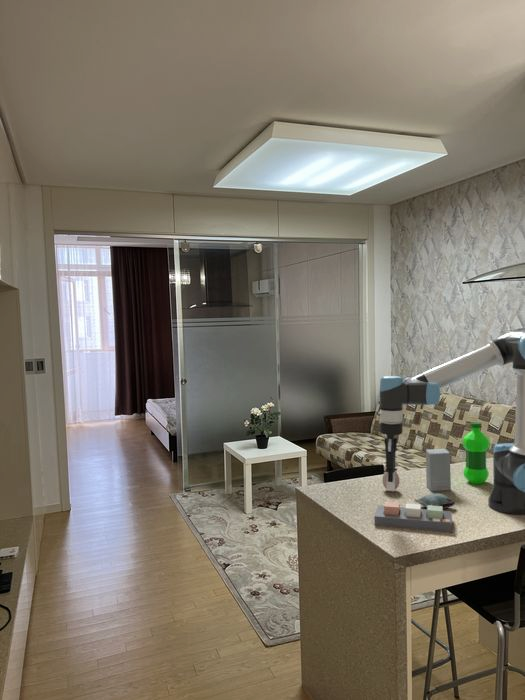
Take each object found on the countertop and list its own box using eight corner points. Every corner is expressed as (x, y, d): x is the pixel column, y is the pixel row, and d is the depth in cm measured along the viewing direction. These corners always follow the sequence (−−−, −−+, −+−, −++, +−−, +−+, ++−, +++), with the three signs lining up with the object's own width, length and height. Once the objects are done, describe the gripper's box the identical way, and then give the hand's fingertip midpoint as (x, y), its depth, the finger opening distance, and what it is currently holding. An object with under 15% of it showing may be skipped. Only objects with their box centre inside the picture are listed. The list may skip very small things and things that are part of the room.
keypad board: (451, 520, 180) (451, 510, 180) (452, 532, 170) (452, 522, 170) (378, 513, 188) (377, 504, 188) (374, 524, 178) (374, 515, 178)
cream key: (420, 516, 181) (420, 504, 180) (420, 521, 176) (420, 509, 176) (406, 514, 182) (406, 503, 182) (405, 519, 178) (405, 508, 177)
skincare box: (445, 486, 217) (445, 447, 216) (451, 491, 210) (451, 452, 209) (425, 486, 217) (424, 448, 216) (430, 492, 210) (429, 452, 209)
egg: (398, 488, 216) (397, 466, 215) (400, 493, 209) (400, 470, 208) (381, 488, 216) (381, 466, 216) (383, 493, 210) (383, 470, 209)
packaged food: (414, 506, 195) (414, 493, 194) (439, 501, 199) (440, 488, 199) (430, 514, 187) (430, 500, 186) (456, 509, 191) (456, 496, 191)
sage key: (442, 517, 178) (442, 506, 178) (442, 523, 174) (442, 511, 174) (427, 516, 180) (427, 505, 180) (427, 521, 175) (427, 509, 175)
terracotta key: (399, 514, 183) (399, 502, 183) (398, 519, 178) (398, 507, 178) (385, 512, 184) (385, 501, 184) (384, 517, 180) (384, 506, 180)
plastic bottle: (490, 480, 223) (490, 421, 222) (487, 487, 214) (487, 426, 213) (465, 477, 228) (465, 419, 227) (461, 483, 219) (460, 424, 218)
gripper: (381, 417, 187) (381, 483, 188) (377, 424, 174) (377, 495, 176) (403, 418, 184) (403, 485, 186) (401, 426, 172) (400, 497, 173)
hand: (390, 490), depth 181 cm, fingers closed
